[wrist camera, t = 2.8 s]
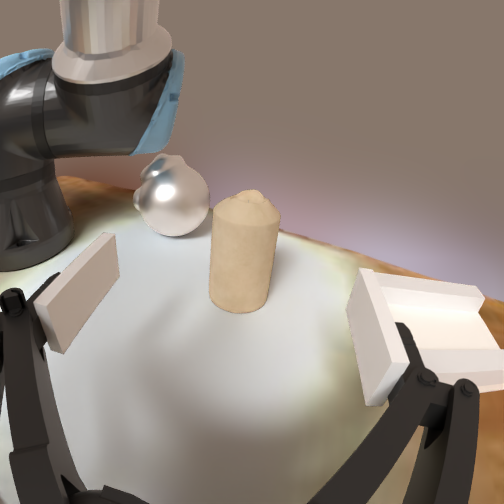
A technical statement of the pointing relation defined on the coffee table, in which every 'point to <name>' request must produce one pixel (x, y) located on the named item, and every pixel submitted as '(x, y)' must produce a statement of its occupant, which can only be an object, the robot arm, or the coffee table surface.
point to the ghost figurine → (172, 196)
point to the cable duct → (446, 329)
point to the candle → (242, 251)
